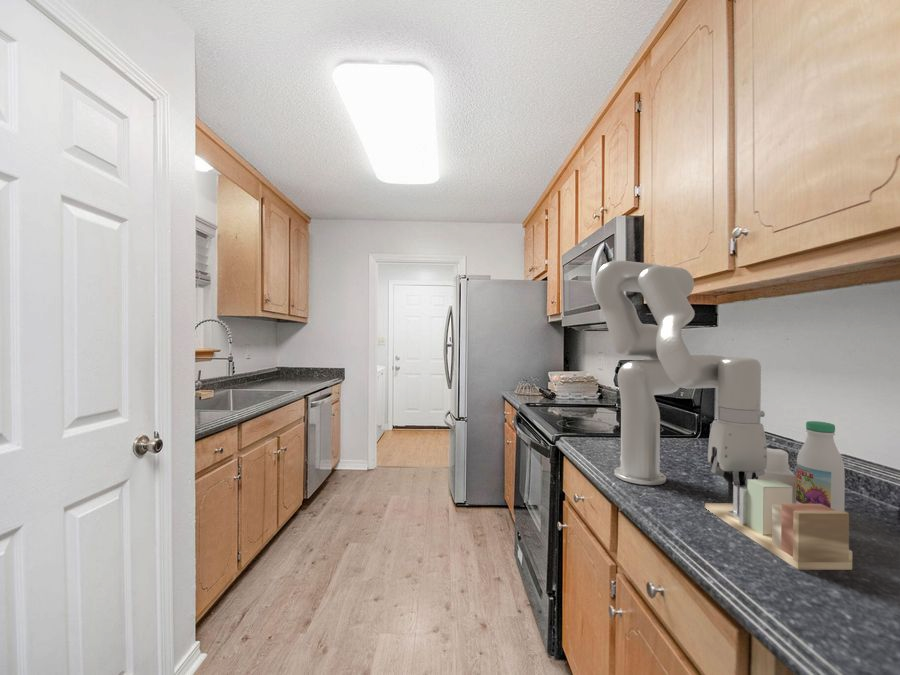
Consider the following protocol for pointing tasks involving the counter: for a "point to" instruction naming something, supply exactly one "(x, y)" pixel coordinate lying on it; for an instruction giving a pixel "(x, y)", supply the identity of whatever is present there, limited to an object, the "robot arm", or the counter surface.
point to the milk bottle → (820, 468)
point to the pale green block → (765, 502)
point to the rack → (800, 535)
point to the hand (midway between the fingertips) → (737, 502)
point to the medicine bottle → (779, 468)
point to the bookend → (739, 503)
